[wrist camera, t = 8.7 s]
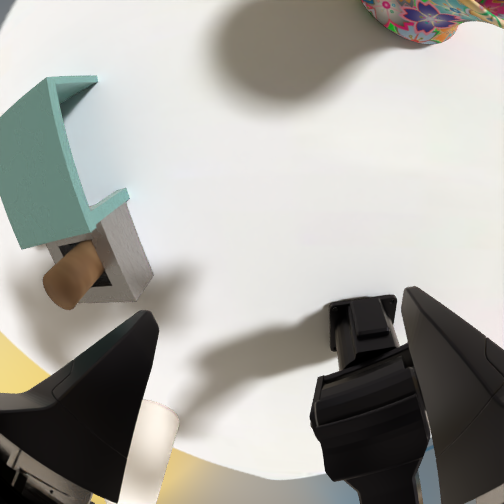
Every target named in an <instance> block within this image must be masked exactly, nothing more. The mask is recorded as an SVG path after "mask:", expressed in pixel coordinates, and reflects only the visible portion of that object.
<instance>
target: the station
mask: <svg viewBox="0 0 504 504" xmlns="http://www.w3.org/2000/svg"><path fill="white" fill-rule="evenodd" d="M97 82H98V79H97V76H59V77H46V78H45V79H44V80H42V81H41V82H40V83H39V84H37V85H36V86H35V87H34V88H32V89H31V90H30V91H29V92H28V93H26V94H25V95H24V96H23V97H22V98H20V99H19V100H18V101H17V102H16V103H15V104H14V105H13V106H12V107H10V108H9V109H8V110H7V111H6V112H5V113H4V114H3V115H2V116H1V117H0V196H1V199H2V202H3V205H4V208H5V211H6V213H7V216H8V219H9V221H10V224H11V226H12V229H13V231H14V233H15V236H16V238H17V240H18V243H19V245H20V247H21V249H26V248H30V247H33V246H37V245H41V244H45V243H46V246H47V248H48V250H49V252H50V254H51V256H52V258H53V260H54V263H55V264H56V263H58V262H59V261H60V260H61V259H62V258H63V257H64V256H65V255H66V254H67V253H68V252H70V251H71V250H72V249H73V248H74V247H75V246H76V245H77V244H79V243H80V242H81V241H85V240H90V239H91V240H92V243H93V245H94V247H95V250H96V252H97V254H98V256H99V258H100V261H101V263H102V265H103V267H104V269H105V271H104V273H103V274H102V275H101V276H100V277H99V278H98V279H97V281H96V282H95V283H94V284H93V285H92V286H91V288H90V289H89V290H88V291H87V292H86V294H85V295H84V296H83V297H82V298H81V300H80V301H79V302H78V303H103V302H136V301H137V300H138V298H139V297H140V295H141V294H142V292H143V291H144V289H145V288H146V286H147V285H148V283H149V282H150V280H151V279H152V277H153V276H154V274H153V272H152V270H151V267H150V265H149V262H148V260H147V257H146V255H145V252H144V250H143V247H142V245H141V242H140V240H139V237H138V234H137V232H136V229H135V226H134V224H133V221H132V218H131V215H130V213H129V210H128V207H127V204H126V201H127V200H128V199H130V198H129V195H128V192H127V189H126V188H124V189H120V190H117V191H115V192H114V193H112V194H111V195H109V196H108V197H106V198H105V199H103V200H102V201H100V202H99V203H97V204H96V205H93V206H90V207H89V206H88V203H87V200H86V197H85V195H84V192H83V189H82V186H81V183H80V180H79V177H78V173H77V170H76V167H75V164H74V160H73V157H72V153H71V150H70V146H69V143H68V139H67V135H66V131H65V127H64V123H63V119H62V114H61V110H60V105H59V104H61V103H62V102H64V101H65V100H67V99H69V98H70V97H72V96H74V95H75V94H77V93H79V92H80V91H82V90H84V89H86V88H87V87H89V86H91V85H93V84H95V83H97Z"/></svg>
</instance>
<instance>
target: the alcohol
mask: <svg viewBox="0 0 504 504" xmlns="http://www.w3.org/2000/svg"><path fill="white" fill-rule="evenodd" d="M179 424H180V421H179V418H178V415H177V414H176V413H175V412H174V411H173V410H171V409H170V408H168V407H166V406H164V405H162V404H160V403H157V402H154V401H150V400H142V403H141V407H140V411H139V414H138V418H137V422H136V426H135V430H134V434H133V438H132V442H131V446H130V450H129V454H128V458H127V463H126V468H125V472H124V477H123V481H122V486H121V491H120V496H119V501H118V504H156V502H157V499H158V495H159V491H160V488H161V484H162V481H163V478H164V475H165V471H166V468H167V464H168V460H169V458H170V454H171V451H172V447H173V444H174V441H175V438H176V434H177V431H178V428H179ZM105 501H106V504H116V503H113V502H111V501H109V500H107V499H105Z"/></svg>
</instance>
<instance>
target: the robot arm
mask: <svg viewBox="0 0 504 504" xmlns="http://www.w3.org/2000/svg"><path fill="white" fill-rule="evenodd" d="M391 300H392V301H391ZM396 305H397V298H396V296H395V295H387V296H380V297H373V298H366V299H359V300H351V301H343V302H334V303H332V304H330V306H329V314H330V348H331V351H337V355H338V364H339V371H338V372H335V373H332V374H329V375H326V376H324V375H323V376H320V377H318V379H317V384H316V388H315V393H314V398H313V403H312V407H311V412H310V420H311V423H310V425H311V428H312V429H313V431H314V434H315V436H316V438H317V439H318V441H319V442H320V443H321V447H322V452H323V458H324V467H325V472H326V473H327V475H328V476H329V477H330V478H331V480H332V481H334V482H336V481H341V480H344V481H345V482H346V483H347V484H349V485H350V486H351V487H352V488H353V489H355V490H356V491H357V492H358V496H359V501H360V504H423V499H422V492H421V485H420V479H419V473H418V468H419V466H420V464H421V461H422V459H423V456H424V453H425V451H426V448H427V445H428V442H429V440H430V430H431V435H432V439H433V445H434V450H435V456H436V458H437V459H436V463H437V470H438V477H439V485H440V494H441V504H464V503H466V502H468V501H471V500H473V499H475V498H476V504H504V350H503V349H502V348H501V347H499V346H498V345H497V344H495V343H494V342H493V341H491V340H490V339H489V338H486V336H485V335H484V334H482V333H481V332H480V331H478V330H477V329H476V328H474V327H473V326H472V325H470V324H469V323H468V322H466V321H465V320H463V319H462V318H461V317H459V316H458V315H457V314H455V313H454V312H452V311H451V310H450V309H448V308H447V307H445V306H444V305H443V304H441V303H440V302H438V301H437V300H436V299H434V298H433V297H431V296H430V295H428V294H427V293H425V292H424V291H422V290H421V289H420V288H418V287H416V286H413V287H407V288H405V289H404V293H403V299H402V306H401V312H402V317H403V321H404V326H405V331H406V335H407V340H408V343H406V344H404V345H402V346H400V345H399V342H398V339H397V336H396V333H395V330H394V327H393V323H394V318H395V311H396ZM334 307H337V308H335V309H333V308H334ZM158 335H159V326H158V324H157V322H156V320H155V318H154V316H153V314H152V313H151V312H150V311H149V310H141V311H139V312H137V313H136V314H134V315H133V316H132V317H130V318H129V319H128V320H126V321H125V322H123V323H122V324H121V325H119V326H118V327H117V328H115V329H114V330H113V331H111V332H110V333H108V334H107V335H106V336H104V337H103V338H102V339H100V340H99V341H98V342H96V343H95V344H94V345H92V346H91V347H90V348H88V349H87V350H86V351H84V352H83V353H82V354H80V355H79V356H77V357H76V358H75V359H74V360H72V361H71V362H69V363H68V364H67V365H65V366H64V367H63V368H61V369H60V370H59V371H57V372H56V373H54V374H53V375H51V376H50V377H48V378H47V379H45V380H44V381H42V382H41V383H39V384H37V385H36V386H34V387H33V388H31V389H30V390H28V391H26V392H24V393H19V394H9V393H0V504H95V503H93V502H91V498H92V495H93V493H94V494H96V495H98V496H100V497H102V498H104V499H107V500H109V501H111V502H113V503H116V504H118V501H119V496H120V491H121V486H122V481H123V477H124V472H125V468H126V463H127V458H128V454H129V450H130V446H131V442H132V438H133V434H134V430H135V426H136V422H137V418H138V414H139V411H140V407H141V403H142V400H143V396H144V393H145V389H146V386H147V382H148V379H149V375H150V372H151V369H152V365H153V360H154V355H155V350H156V345H157V340H158ZM426 412H427V413H426ZM427 416H428V417H427ZM428 420H429V421H428ZM429 425H430V426H429Z"/></svg>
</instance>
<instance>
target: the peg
mask: <svg viewBox="0 0 504 504" xmlns="http://www.w3.org/2000/svg"><path fill="white" fill-rule="evenodd" d="M104 271H105V269H104V267H103V265H102V263H101V261H100V258H99V256H98V254H97V252H96V250H95V247H94V245H93V243H92V240H91V239H90V240H85V241H81V242H80V243H79V244H77V245H76V246H75V247H74V248H73V249H72V250H71V251H70V252H68V253H67V254H66V255H65V256H64V257H63V258H62V259H61V260H60V261H59V262H58V263H56V264H55V265H54V266H53V267H52V268H51V269H50V270H49V271H48V272H47V273H46V274H45V275H44V277H43V285H44V288H45V291H46V293H47V294H48V296H49V297H50V298H51V300H52V301H53V302H54V303H55V304H57V305H58V306H59V307H61V308H63V309H66V310H71V309H73V308H74V307H75V306H76V304H77V303H78V302H79V301H80V300H81V298H82V297H83V296H84V295H85V294H86V292H87V291H88V290H89V289H90V288H91V286H92V285H93V284H94V283H95V282H96V281H97V279H98V278H99V277H100V276H101V275H102V274H103V273H104Z"/></svg>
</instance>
